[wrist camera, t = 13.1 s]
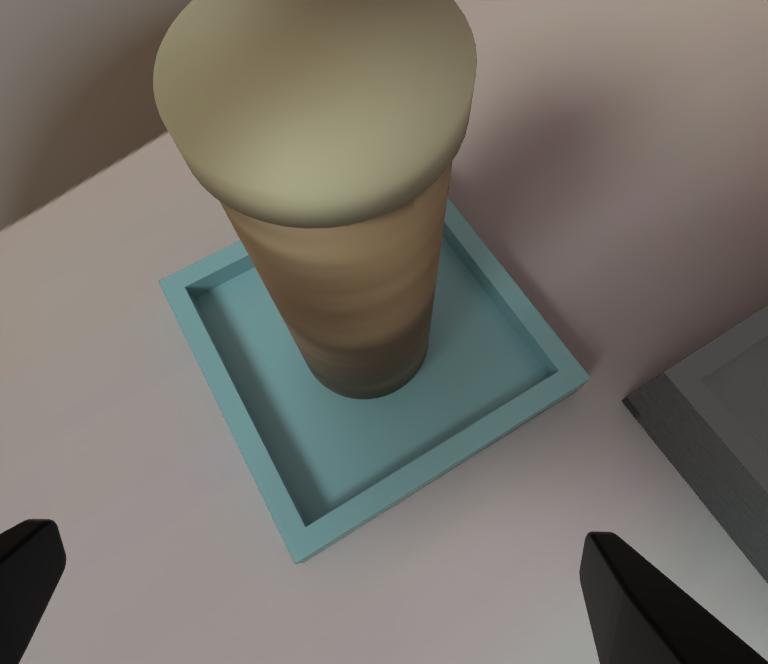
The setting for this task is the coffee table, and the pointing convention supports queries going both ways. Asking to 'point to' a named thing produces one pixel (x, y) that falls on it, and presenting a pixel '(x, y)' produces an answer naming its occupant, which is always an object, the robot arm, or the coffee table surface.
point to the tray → (368, 416)
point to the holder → (719, 429)
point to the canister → (329, 161)
